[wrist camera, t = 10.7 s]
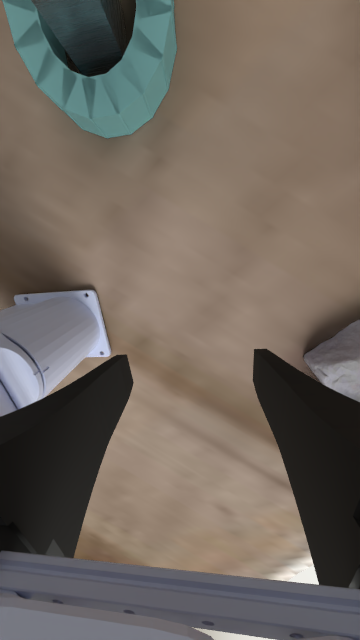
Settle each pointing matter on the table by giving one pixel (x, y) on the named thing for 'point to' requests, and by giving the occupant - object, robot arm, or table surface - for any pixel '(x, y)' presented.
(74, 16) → the dark metal rectangular bar
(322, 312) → the table surface
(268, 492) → the table surface
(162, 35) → the teal creased ring
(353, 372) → the stone block
